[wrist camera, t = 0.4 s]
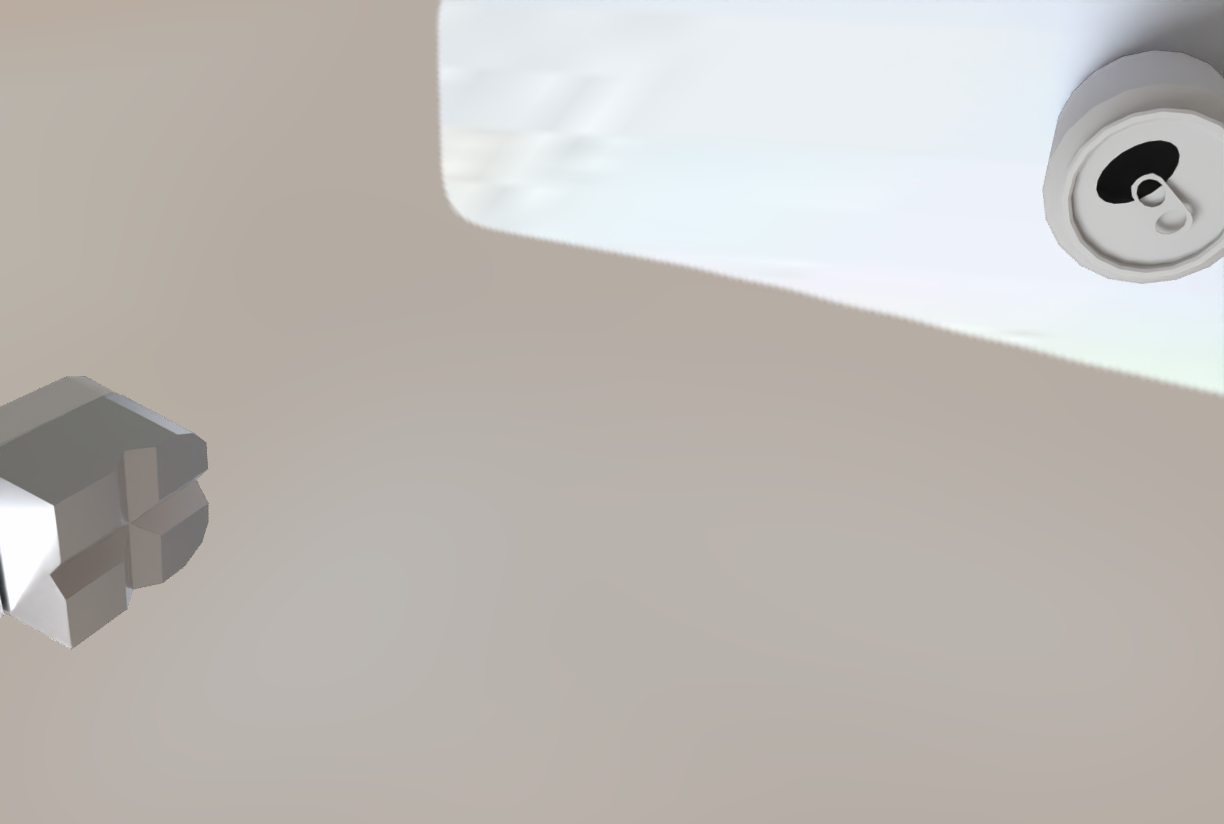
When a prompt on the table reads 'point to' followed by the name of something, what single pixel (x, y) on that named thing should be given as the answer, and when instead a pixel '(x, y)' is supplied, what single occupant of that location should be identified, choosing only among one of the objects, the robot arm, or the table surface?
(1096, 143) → the can
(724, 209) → the table surface
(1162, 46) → the table surface
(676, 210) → the table surface
